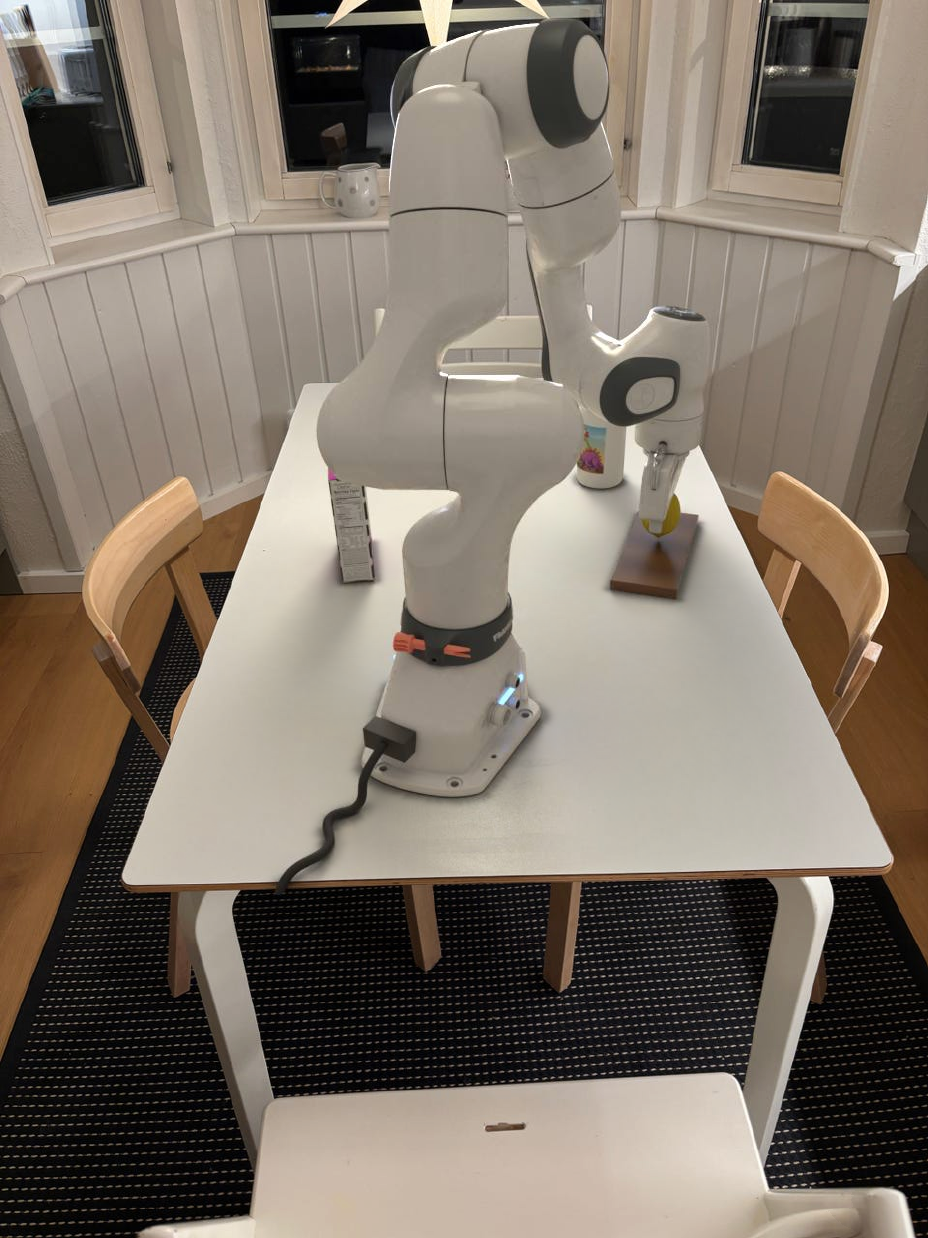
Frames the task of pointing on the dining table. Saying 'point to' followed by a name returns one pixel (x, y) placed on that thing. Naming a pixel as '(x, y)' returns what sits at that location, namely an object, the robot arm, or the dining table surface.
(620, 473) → the milk bottle
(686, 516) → the serving board
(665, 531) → the lemon
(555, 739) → the dining table surface
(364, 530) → the candy bar box
